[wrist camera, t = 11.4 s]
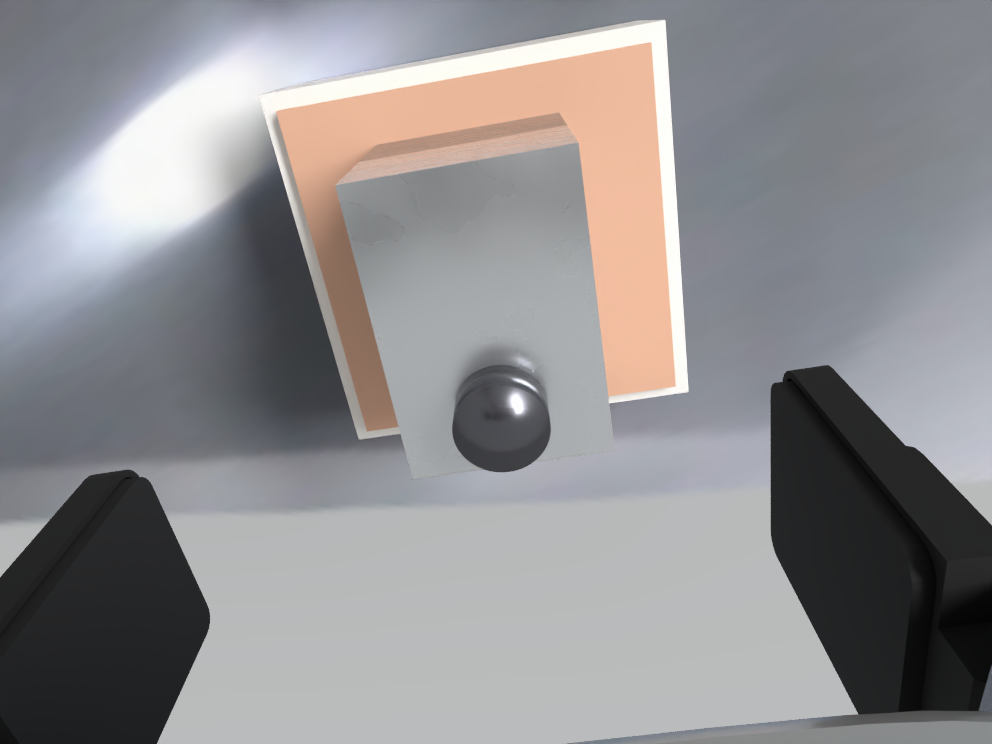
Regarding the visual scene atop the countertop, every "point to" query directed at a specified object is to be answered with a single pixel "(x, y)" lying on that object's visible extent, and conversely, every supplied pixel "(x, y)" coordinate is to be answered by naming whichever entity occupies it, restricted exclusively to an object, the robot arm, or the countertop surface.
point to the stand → (489, 100)
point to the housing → (482, 294)
